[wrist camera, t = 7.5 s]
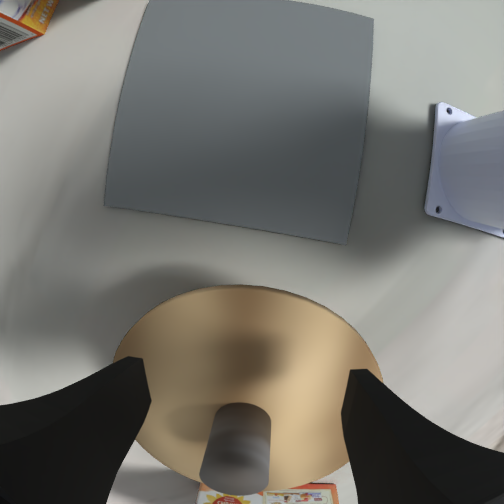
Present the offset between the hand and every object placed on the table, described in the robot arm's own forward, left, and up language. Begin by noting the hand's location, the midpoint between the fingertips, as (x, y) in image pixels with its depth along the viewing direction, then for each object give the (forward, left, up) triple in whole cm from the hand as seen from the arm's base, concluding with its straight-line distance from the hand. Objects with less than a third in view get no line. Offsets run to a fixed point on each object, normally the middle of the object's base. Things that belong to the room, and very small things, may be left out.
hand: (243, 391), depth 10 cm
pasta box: (+26, -30, -11) cm, 42 cm away
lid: (0, +5, -4) cm, 7 cm away
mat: (+3, -12, -10) cm, 16 cm away
